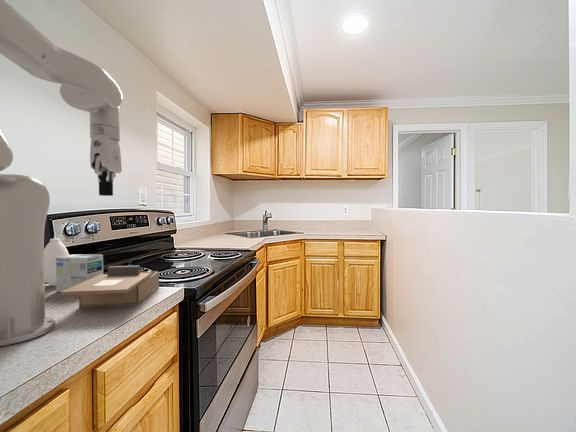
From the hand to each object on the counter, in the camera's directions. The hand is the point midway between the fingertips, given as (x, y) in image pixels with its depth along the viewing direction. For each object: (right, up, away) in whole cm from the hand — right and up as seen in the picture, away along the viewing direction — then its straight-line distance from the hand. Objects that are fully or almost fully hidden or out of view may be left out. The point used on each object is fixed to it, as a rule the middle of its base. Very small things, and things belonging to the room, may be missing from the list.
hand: (106, 195), depth 87 cm
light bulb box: (-9, -29, +2) cm, 31 cm away
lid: (+9, -24, -12) cm, 28 cm away
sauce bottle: (-21, -29, +8) cm, 37 cm away
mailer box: (+8, -29, -4) cm, 31 cm away
